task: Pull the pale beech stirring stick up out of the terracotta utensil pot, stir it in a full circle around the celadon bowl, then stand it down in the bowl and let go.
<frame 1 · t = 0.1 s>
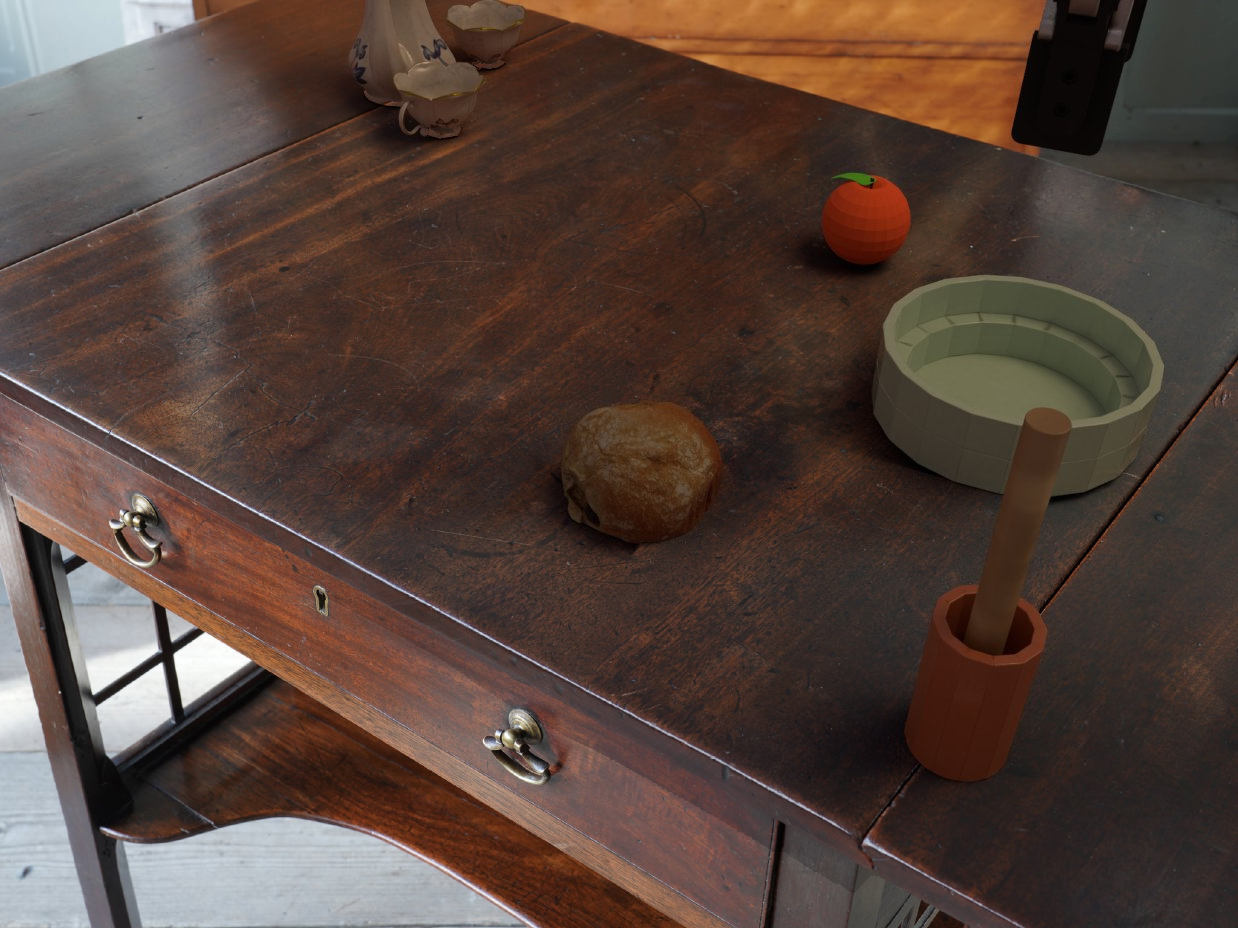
hand: (1073, 98, 48), 30 cm above the table, tool pointing down, fingers open, 9 cm apart
chinaware: (433, 95, 124), on the table
bowl: (1001, 418, 82), on the table
clementine: (854, 258, 99), on the table
stick: (956, 739, 61), point 1 cm above the table, touching holder
bread roll: (642, 493, 76), on the table
holder: (954, 746, 61), on the table
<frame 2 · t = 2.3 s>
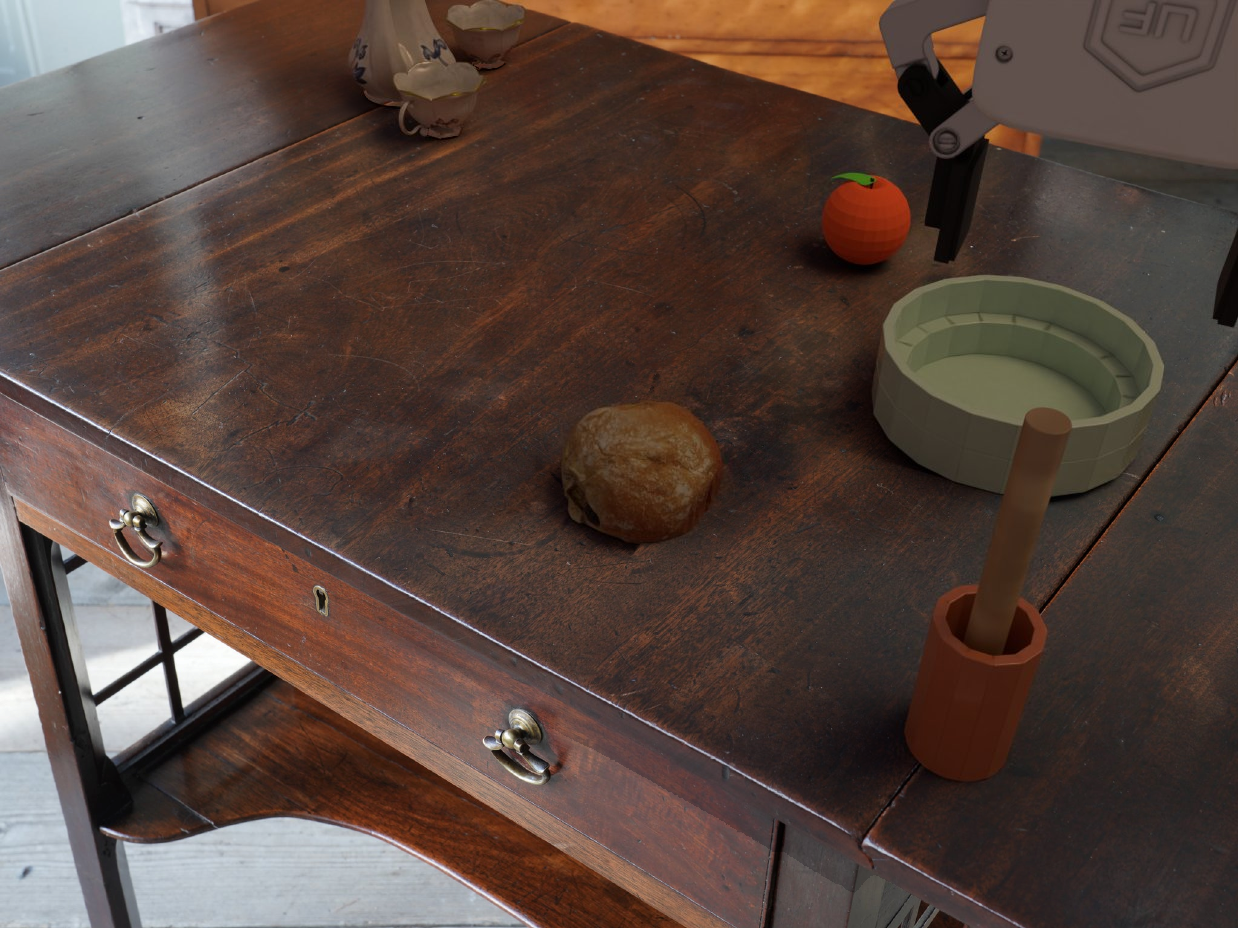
hand: (1083, 275, 44), 27 cm above the table, tool pointing down, fingers open, 9 cm apart
nothing on the table moved.
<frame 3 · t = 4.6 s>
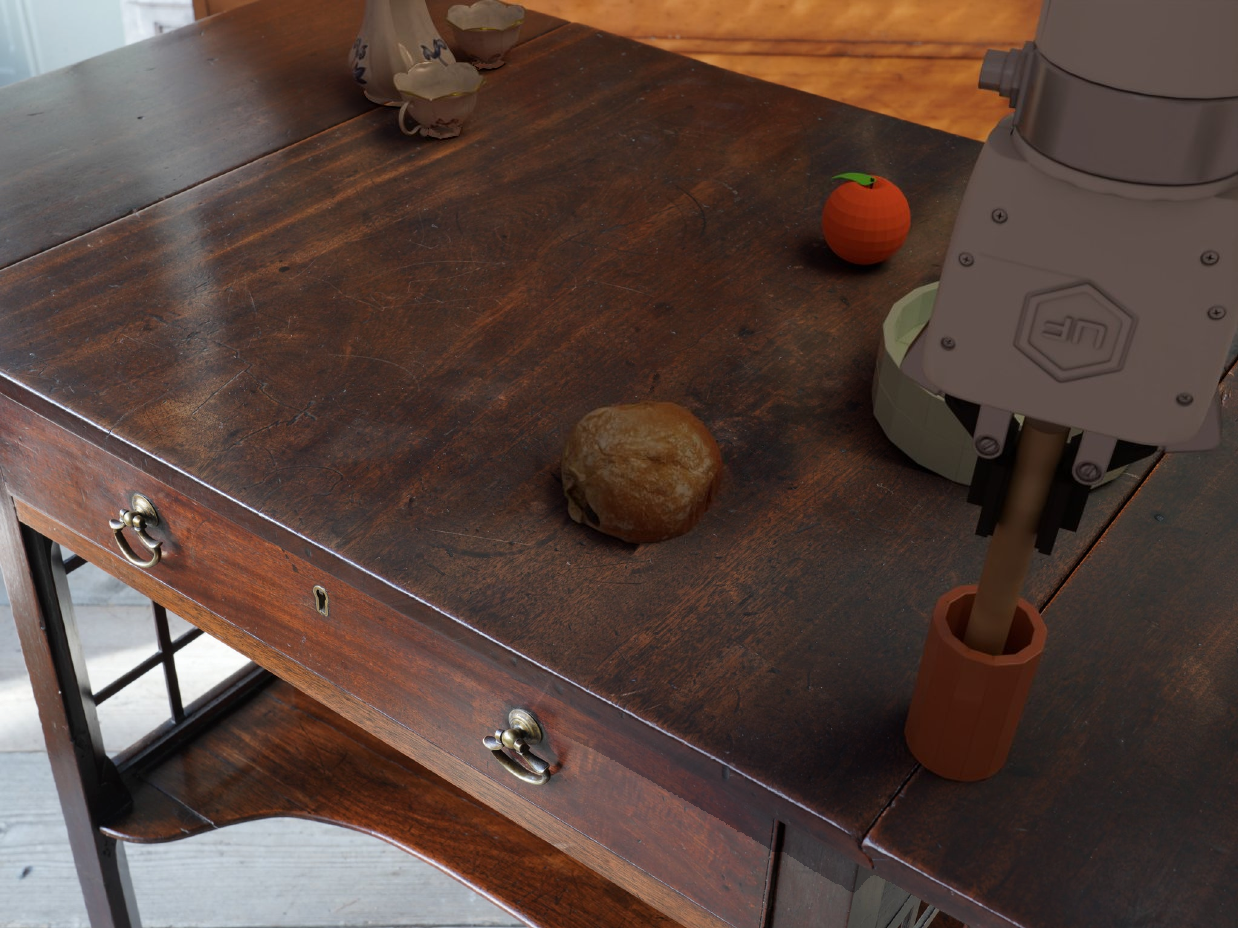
hand: (1018, 522, 52), 15 cm above the table, tool pointing down, fingers closed on stick, 1 cm apart
stick: (956, 739, 61), point 1 cm above the table, touching gripper, holder
everything else where it was.
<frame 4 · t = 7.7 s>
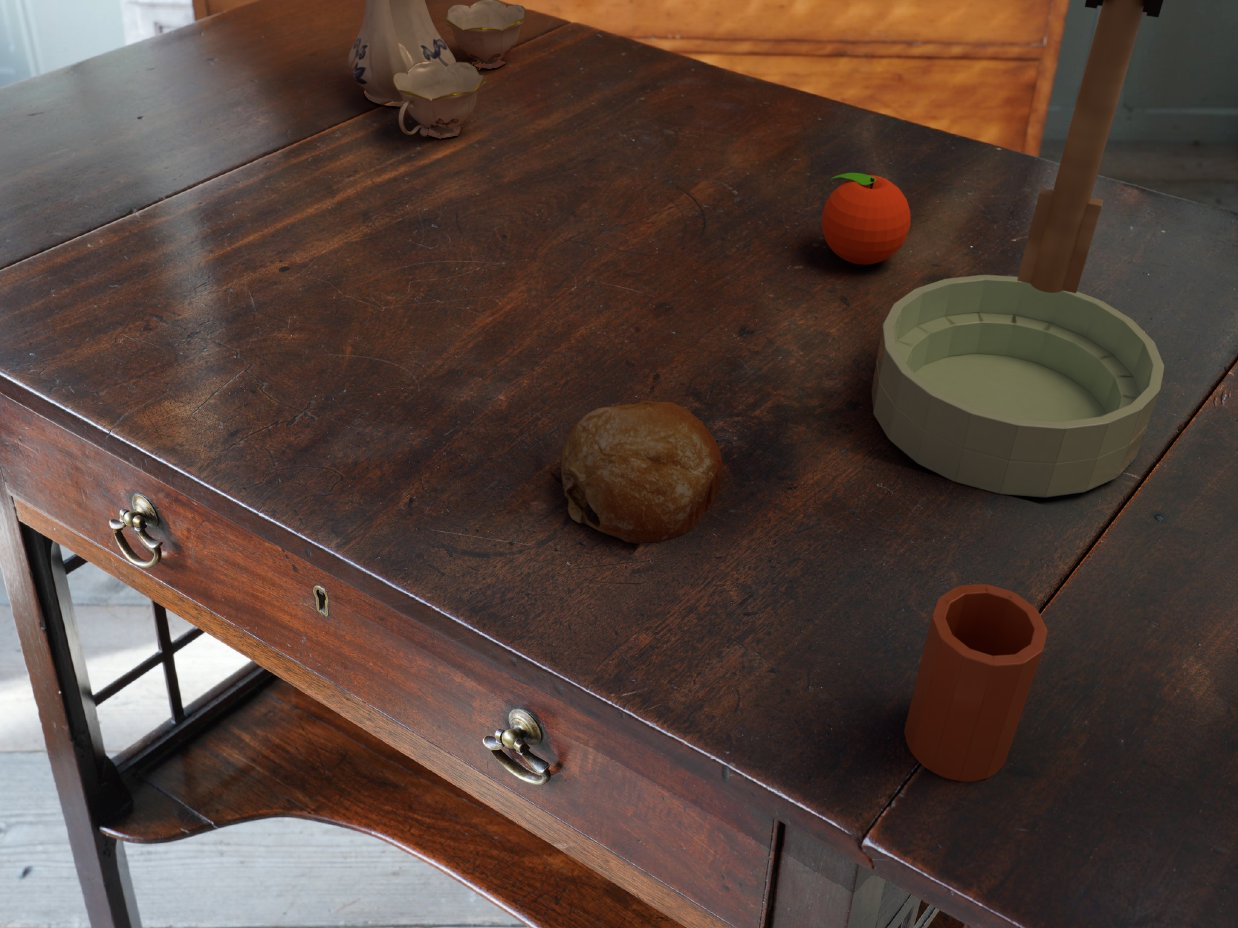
stick: (1047, 284, 63), point 17 cm above the table, touching gripper
everything else where it was.
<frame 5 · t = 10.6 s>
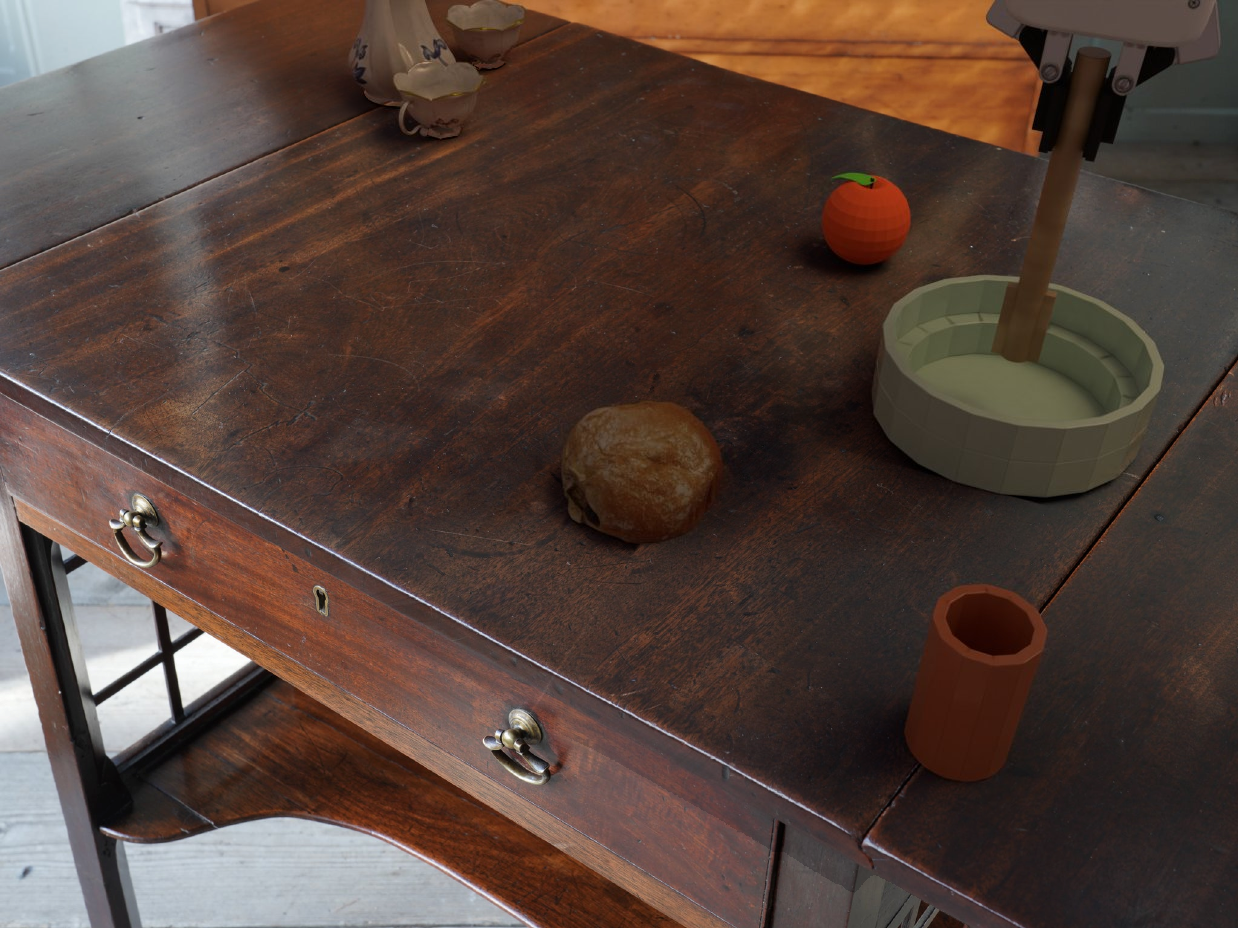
hand: (1070, 145, 70), 20 cm above the table, tool pointing down, fingers closed on stick
stick: (1014, 355, 79), point 5 cm above the table, touching gripper
everything else where it was.
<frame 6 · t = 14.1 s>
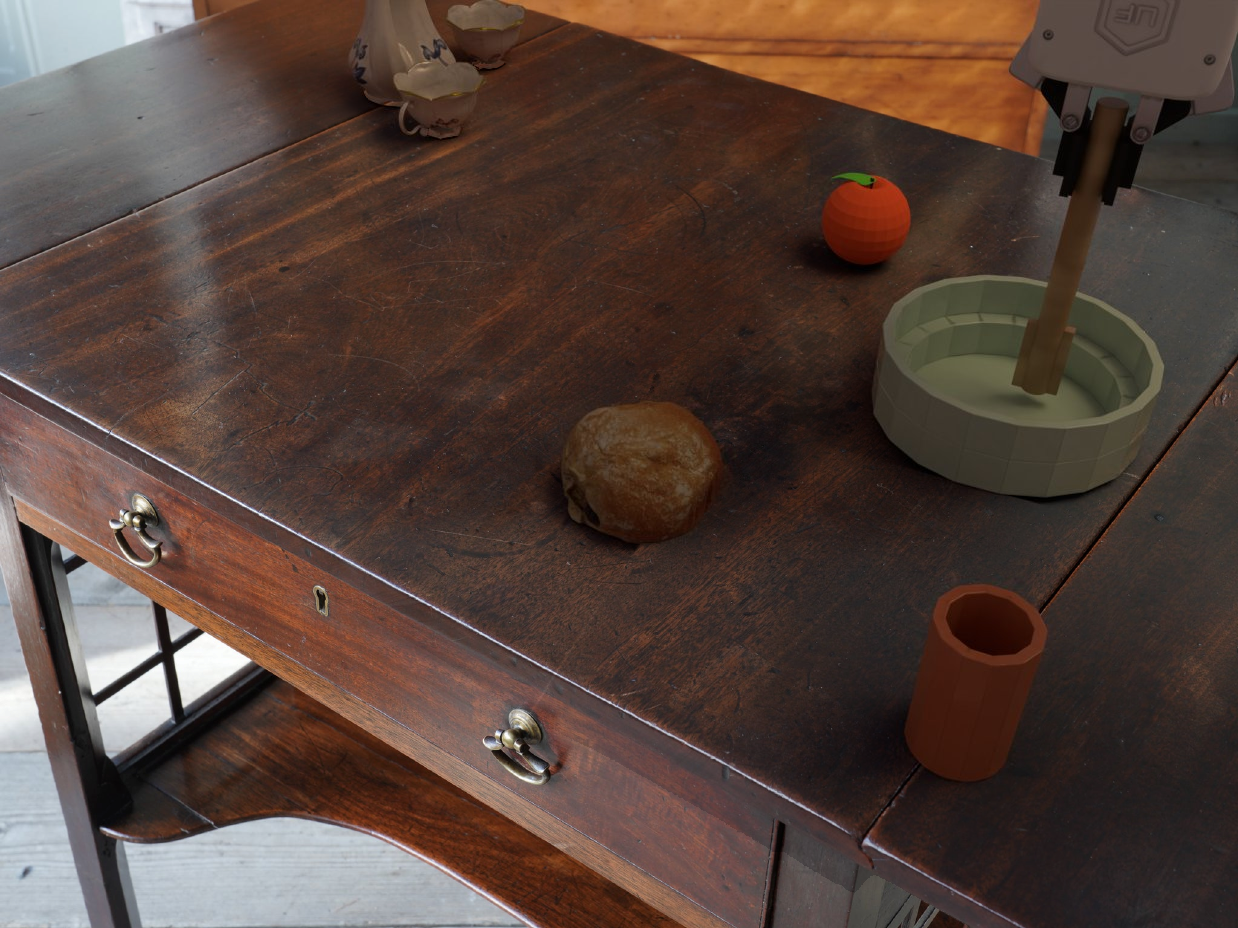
hand: (1089, 189, 73), 16 cm above the table, tool pointing down, fingers closed on stick, 1 cm apart
stick: (1034, 387, 82), point 2 cm above the table, touching gripper
everything else where it was.
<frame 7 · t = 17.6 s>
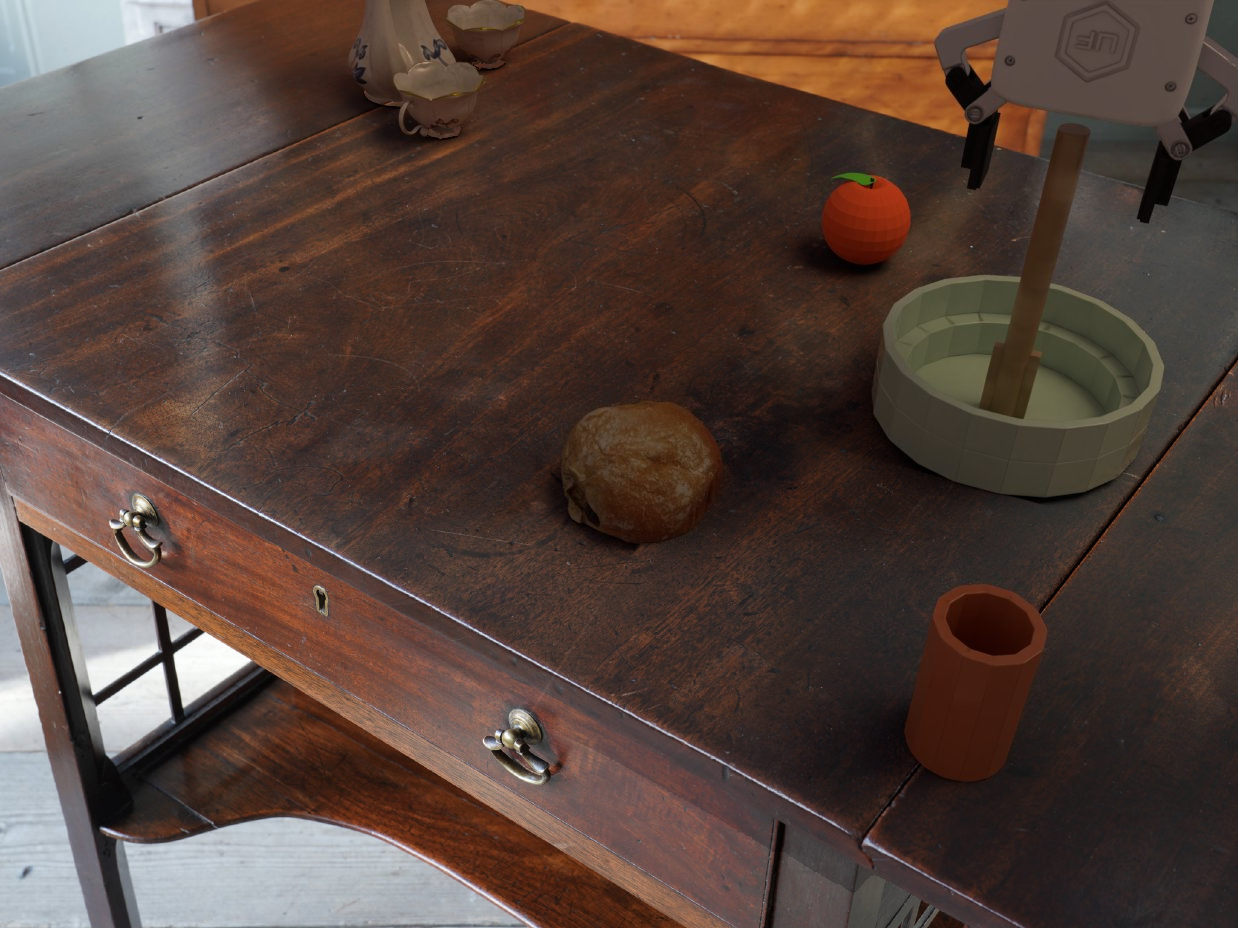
hand: (1059, 196, 72), 16 cm above the table, tool pointing down, fingers open, 9 cm apart
stick: (1002, 410, 82), point 1 cm above the table, touching bowl
everything else where it was.
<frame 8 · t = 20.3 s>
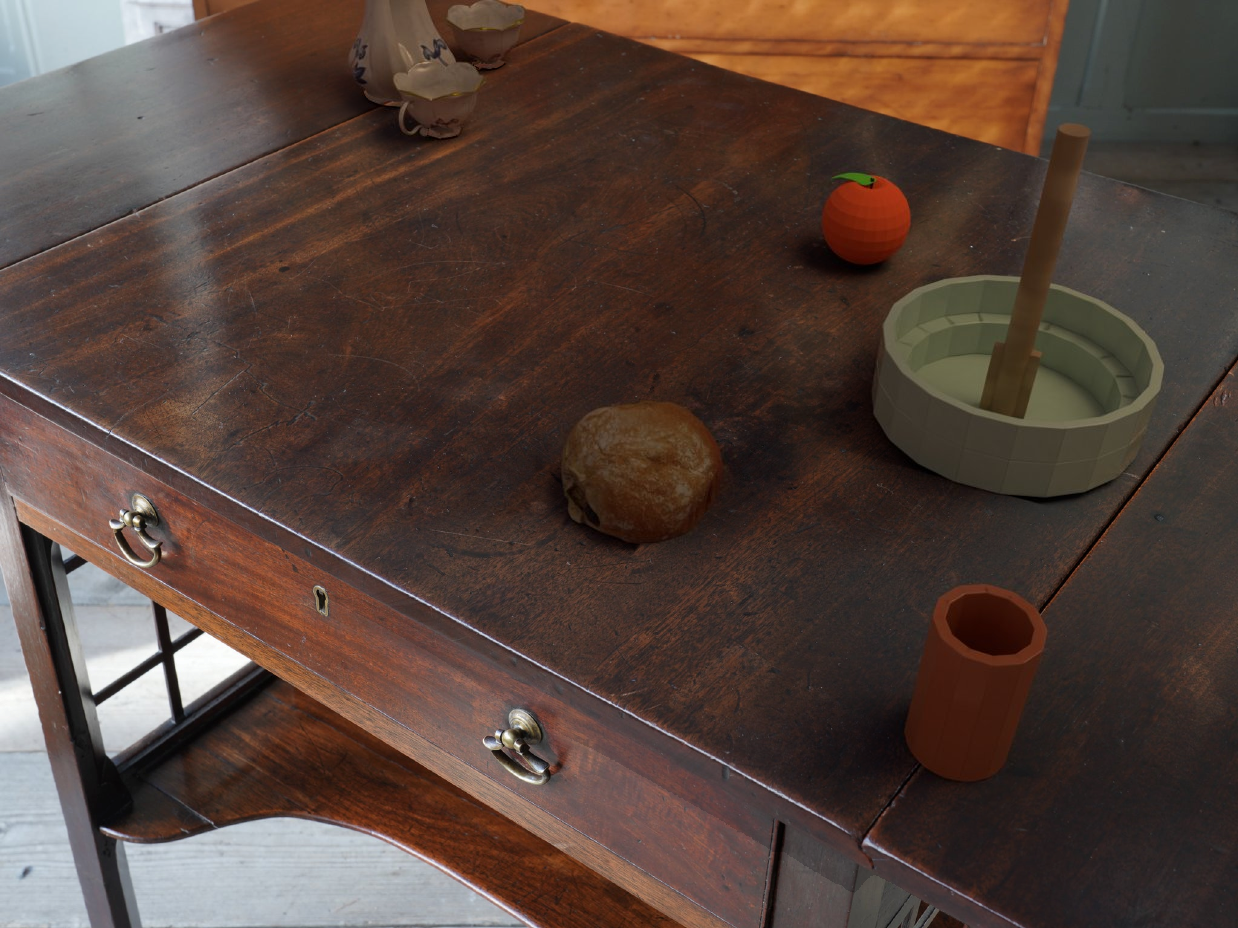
nothing on the table moved.
at the end: stick inside the target area in the bowl (0.1 cm from its centre), point 0.6 cm above the bowl's base; the gripper is holding nothing; stick moved 28.7 cm from its start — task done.
